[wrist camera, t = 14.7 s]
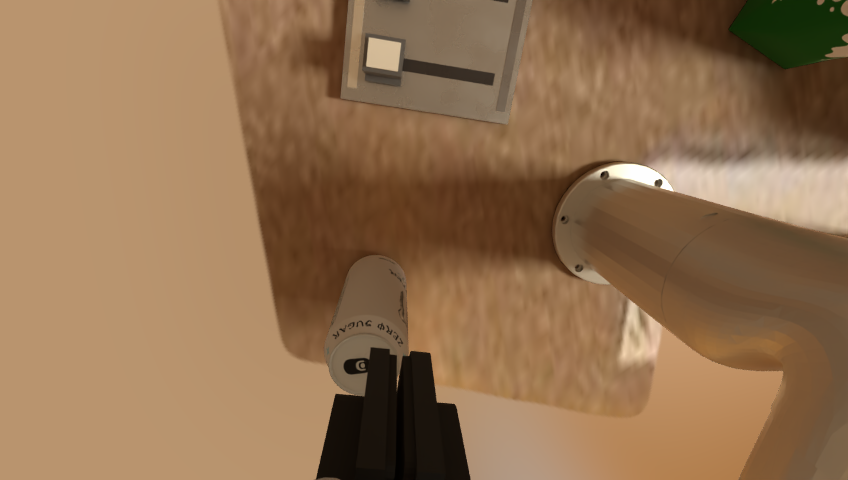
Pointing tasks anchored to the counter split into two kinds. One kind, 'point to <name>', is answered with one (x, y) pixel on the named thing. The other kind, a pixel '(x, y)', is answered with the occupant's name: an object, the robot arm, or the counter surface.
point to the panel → (441, 54)
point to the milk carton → (795, 30)
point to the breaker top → (383, 59)
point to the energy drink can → (367, 321)
